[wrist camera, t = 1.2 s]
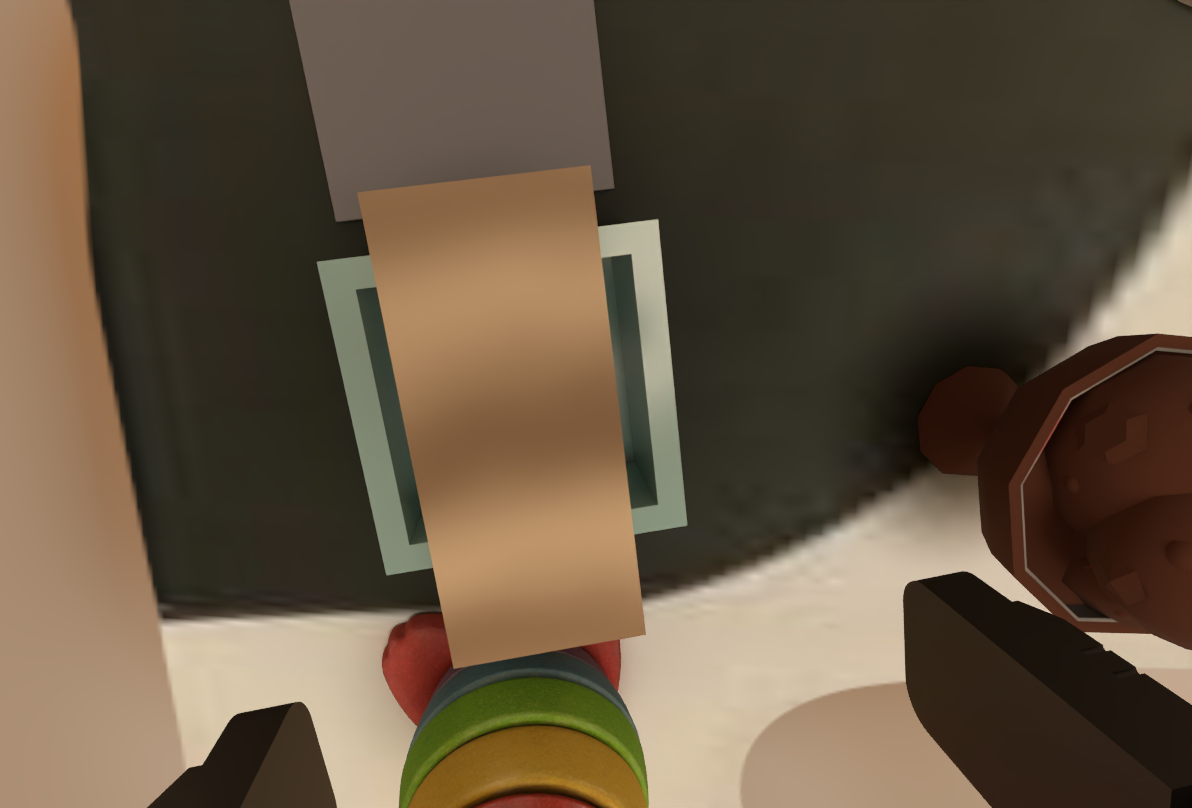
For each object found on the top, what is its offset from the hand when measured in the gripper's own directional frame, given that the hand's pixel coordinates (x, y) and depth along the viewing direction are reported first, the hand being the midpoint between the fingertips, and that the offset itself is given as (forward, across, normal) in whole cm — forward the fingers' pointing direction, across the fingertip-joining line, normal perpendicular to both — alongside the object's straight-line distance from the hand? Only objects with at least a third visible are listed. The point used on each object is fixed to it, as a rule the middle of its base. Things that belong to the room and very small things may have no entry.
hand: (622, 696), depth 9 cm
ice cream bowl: (+21, -20, +5) cm, 29 cm away
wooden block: (+14, +1, -1) cm, 15 cm away
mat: (+20, +2, -14) cm, 25 cm away
